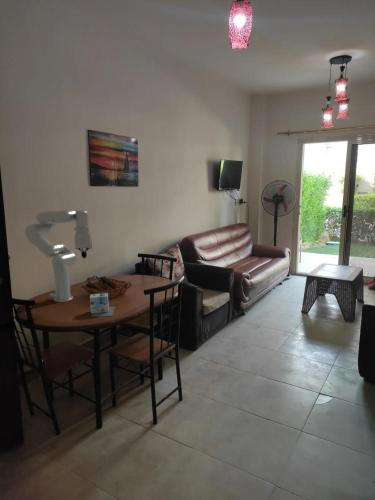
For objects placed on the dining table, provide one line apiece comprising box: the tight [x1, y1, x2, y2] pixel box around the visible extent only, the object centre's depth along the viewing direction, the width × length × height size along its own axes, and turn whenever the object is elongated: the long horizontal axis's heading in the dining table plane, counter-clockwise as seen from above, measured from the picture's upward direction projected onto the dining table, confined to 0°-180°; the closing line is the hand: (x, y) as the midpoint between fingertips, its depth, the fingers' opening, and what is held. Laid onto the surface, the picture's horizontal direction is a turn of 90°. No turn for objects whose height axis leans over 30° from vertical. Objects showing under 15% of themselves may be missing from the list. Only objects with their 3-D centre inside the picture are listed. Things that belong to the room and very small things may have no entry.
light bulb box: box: [89, 292, 110, 314], centre depth 219 cm, size 11×7×11 cm
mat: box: [91, 306, 116, 318], centre depth 220 cm, size 12×16×1 cm
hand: (84, 257), depth 230 cm, fingers closed
